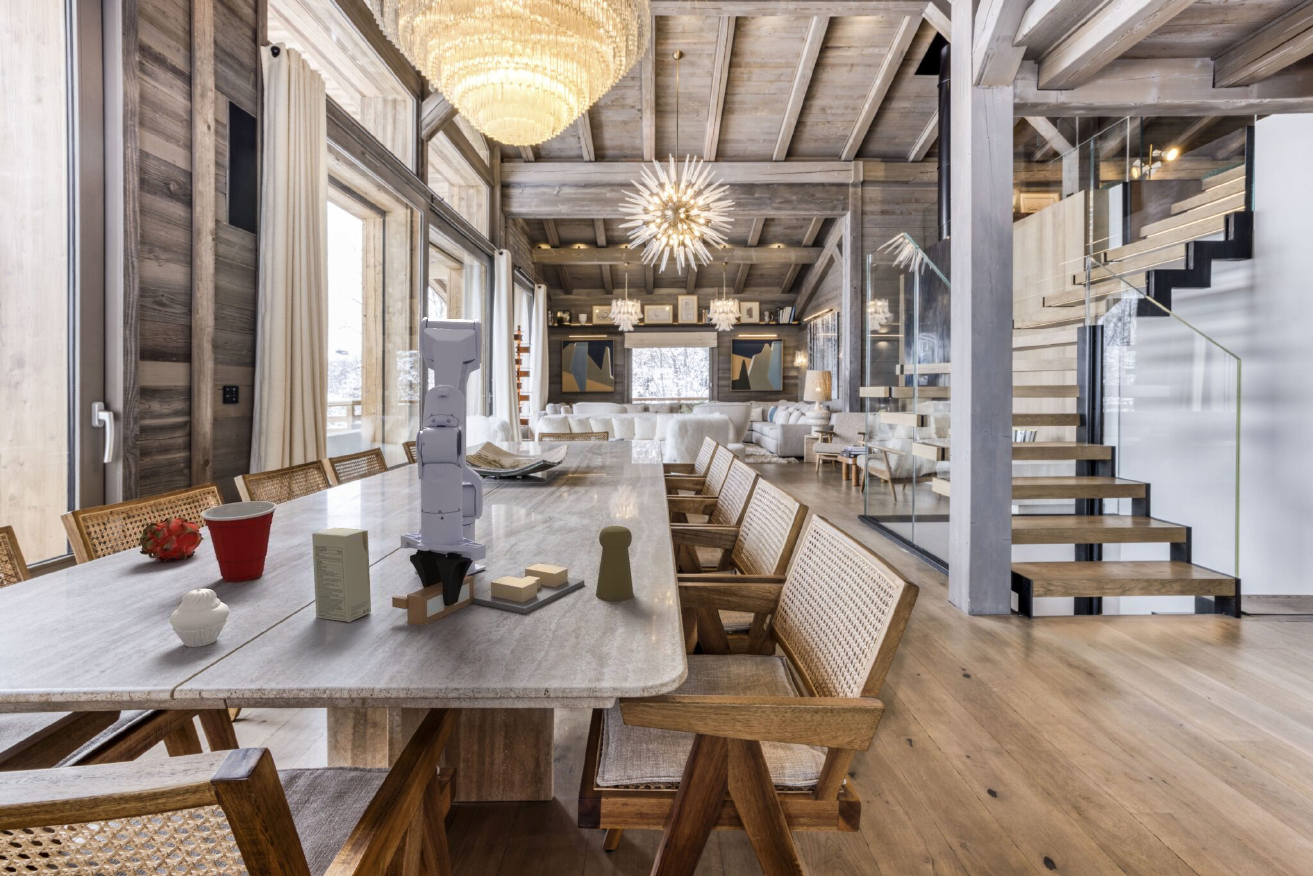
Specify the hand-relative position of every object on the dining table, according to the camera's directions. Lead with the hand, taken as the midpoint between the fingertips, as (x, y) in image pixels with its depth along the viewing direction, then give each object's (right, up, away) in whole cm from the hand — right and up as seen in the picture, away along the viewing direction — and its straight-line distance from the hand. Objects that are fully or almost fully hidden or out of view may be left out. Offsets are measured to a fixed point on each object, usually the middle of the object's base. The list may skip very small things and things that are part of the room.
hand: (442, 601), depth 94 cm
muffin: (-26, -2, -13) cm, 29 cm away
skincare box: (-13, -2, -2) cm, 14 cm away
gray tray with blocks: (+11, -1, +9) cm, 14 cm away
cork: (+25, -1, +9) cm, 26 cm away
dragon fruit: (-58, +1, +25) cm, 63 cm away
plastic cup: (-39, 0, +15) cm, 41 cm away
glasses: (-1, -1, +1) cm, 2 cm away
